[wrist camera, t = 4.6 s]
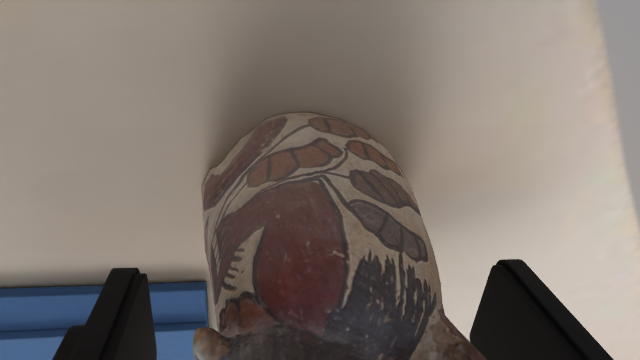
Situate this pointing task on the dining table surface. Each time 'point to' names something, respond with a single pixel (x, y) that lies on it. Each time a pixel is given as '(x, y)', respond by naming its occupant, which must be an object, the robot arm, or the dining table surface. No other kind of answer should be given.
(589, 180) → the dining table surface
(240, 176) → the figurine
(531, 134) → the dining table surface
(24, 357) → the dish cloth
